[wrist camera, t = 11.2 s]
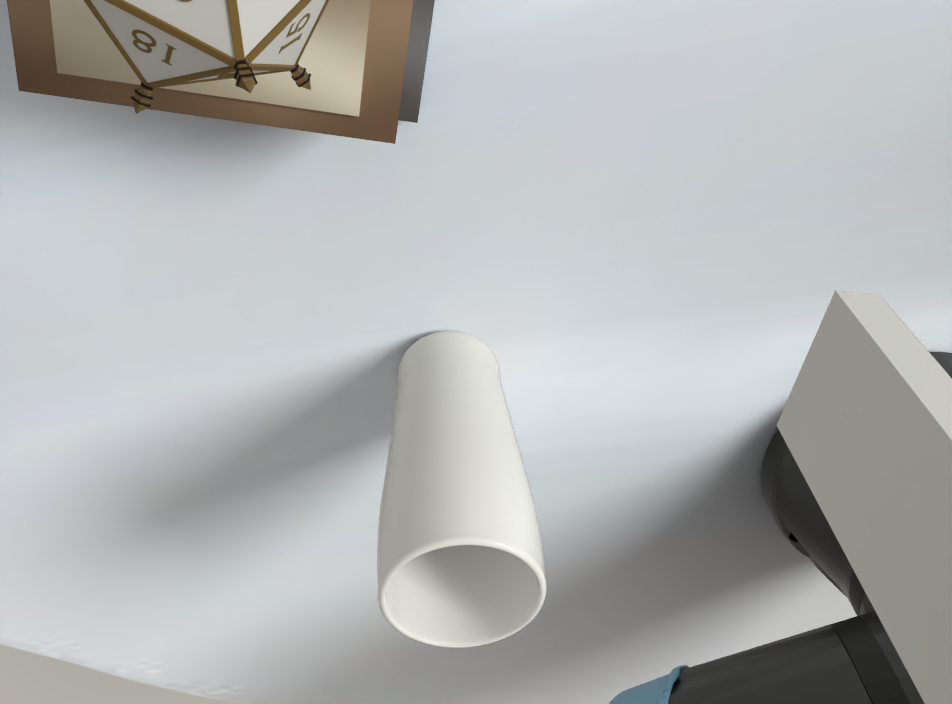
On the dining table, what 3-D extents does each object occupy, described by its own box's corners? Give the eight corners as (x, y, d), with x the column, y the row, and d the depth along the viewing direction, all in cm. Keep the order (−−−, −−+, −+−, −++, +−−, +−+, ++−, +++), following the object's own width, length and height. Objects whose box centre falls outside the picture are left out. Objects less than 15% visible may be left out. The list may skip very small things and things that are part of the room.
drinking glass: (458, 434, 48) (475, 669, 36) (358, 377, 46) (341, 612, 34) (538, 355, 46) (585, 583, 34) (436, 290, 43) (447, 513, 31)
